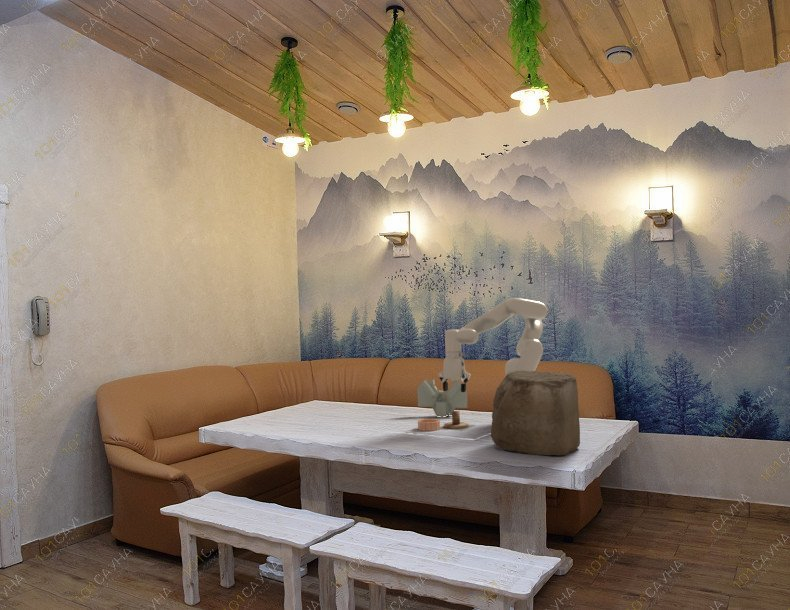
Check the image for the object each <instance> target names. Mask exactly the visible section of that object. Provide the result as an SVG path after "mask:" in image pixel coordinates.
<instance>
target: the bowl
mask: <svg viewBox="0 0 790 610" xmlns="http://www.w3.org/2000/svg"><path fill="white" fill-rule="evenodd" d="M440 427H441V421H440V419H438V418H437V419H436V418H426V419H425V418H424V419H420V420H417V430H418V429H419V430H418V431H421V430H422V431H421V432H433V431H434V432H435V431H439V430H440Z"/></svg>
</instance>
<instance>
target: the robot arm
mask: <svg viewBox="0 0 790 610" xmlns="http://www.w3.org/2000/svg"><path fill="white" fill-rule="evenodd" d="M547 314H548V306H546V304H544V303H543V302H540V301H538V300H537V301H536V300H531V299H527V298H526V299H525V298H520V297H510V298H506V299H504V300H503V301H501V302H500V303H499V304H497V305H495V306H494V307H493V308H491V309H490V310H488V311H487V312H485V313H483V314H482V315H480V316H479V317H477V318H475V319H473V320H471V321H469V322H468V323H467V324H465V325H464V326H462V327H461V328H460V329H455V328H454V329H453V328H452V329H447V330H445V332H444V338H445V343H444V344H445V347H444V348H445V357H444V359H443V369H442V370H441V371H439V372H438V373H437V376H438V377H439V380H440V381H441V383H442V391H443V392H445V391H448V390H449V384H448V381H449V380H459V381H460V382H461V383H460V384H461V392H465V391H466V388H467V383H468V381H469V380H470V378H471V376H472V375H471V373H470V372H468V371H466V366H465V365H466V364H465V359H464V358H463V357H464V353H463V352H462V345H473V344H476V343H477V342H478V341H479V335H480V334H482V333H484V332H487V331H491V330H493V329H495V328H498V327H499V326H501V325H502V324H503V323H505V322H507V321H508V320H509V319H511V318H512V317H513V316H518V317H523V319H524V322H525V323H524V324H525V325H524V329H523V332H522V334H521V336H520V338H519V340H518V342H517V345H516V348H515V351H516V353H517V355H518V356H519V358H518V357H513V358H510V359H509V360H507V362H506V363H505V365H504V372H505V376H506V375H507V374H509V373H510V372H515V371H537V370H536V369H537V367H538V365H539V363H540V361H541V359H542V356H543V353H544V346H543V344H542V342H541V341H540V338H541V336H542V333H543V328H544V326H543V321H542V319H544V318H545V317H546V316H547Z"/></svg>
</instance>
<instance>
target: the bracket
mask: <svg viewBox="0 0 790 610" xmlns="http://www.w3.org/2000/svg"><path fill="white" fill-rule="evenodd" d="M435 384H436V383H435V379H432V380H431V381H429V379H427V378H425V380H423V381H421V383H420V384H418V386H417V387H416V389H417V406H418V407H422V408H423V407H424V408H425V407H427V408H428V407H429V408H432V409H433V411H434V414H435V416H436V415H437V416H446V415H448V416H449V415H452V411H456V410H455V409H456V408H457V409H458V408H460V409H462V408H463V409H466V408H468V392H467V391H468V388H467V387H466V391H465V392H461V384H462V383H460V382H459V381H458V380H456V379H451V385H450V387H448V391H443V390H439V389H438V388H437V386H436V385H435ZM443 395H444V396H443ZM449 417H450V416H449Z"/></svg>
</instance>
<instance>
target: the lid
mask: <svg viewBox="0 0 790 610" xmlns="http://www.w3.org/2000/svg"><path fill="white" fill-rule="evenodd" d="M460 417H461V416H460V410H454V411H452V416H451V420H452V421H451V422H445V423H444V424H443V426H444V428H448V429H447V430H450V429H463V428H467V427H469V425H470V424H469V423H468V422H464V421H463V422H462V421H461V418H460Z"/></svg>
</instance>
